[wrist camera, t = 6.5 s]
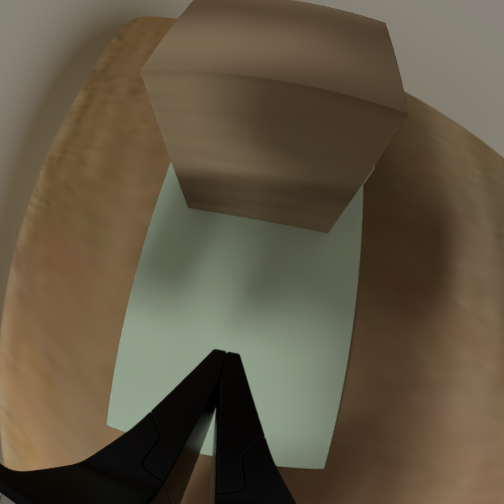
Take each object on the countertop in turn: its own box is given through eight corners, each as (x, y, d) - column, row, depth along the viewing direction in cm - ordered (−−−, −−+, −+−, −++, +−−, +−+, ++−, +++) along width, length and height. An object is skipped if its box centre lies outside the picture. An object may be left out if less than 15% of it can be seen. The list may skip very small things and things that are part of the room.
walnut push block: (327, 233, 17) (408, 113, 7) (188, 207, 17) (140, 70, 8) (334, 149, 19) (385, 22, 9) (213, 127, 19) (199, -7, 9)
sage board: (315, 457, 15) (323, 469, 13) (119, 418, 15) (106, 425, 13) (354, 184, 20) (363, 170, 18) (184, 154, 20) (180, 137, 19)
